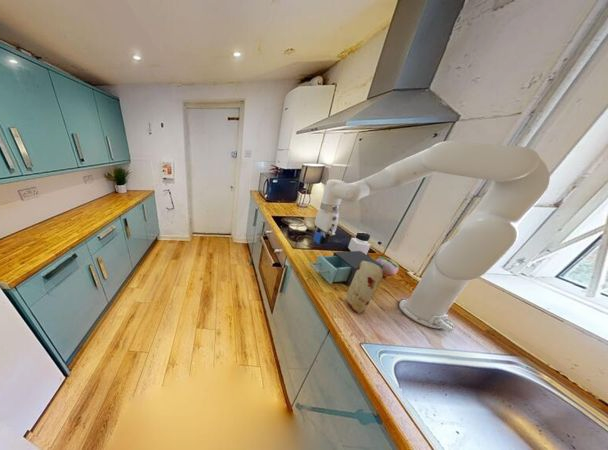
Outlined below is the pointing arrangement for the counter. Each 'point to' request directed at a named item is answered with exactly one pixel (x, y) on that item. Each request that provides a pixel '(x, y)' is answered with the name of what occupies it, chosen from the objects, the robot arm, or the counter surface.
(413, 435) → the counter surface
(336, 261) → the teal drawer
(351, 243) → the medicine bottle
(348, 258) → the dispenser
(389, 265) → the decorative fruit
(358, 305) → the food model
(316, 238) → the blue cube
